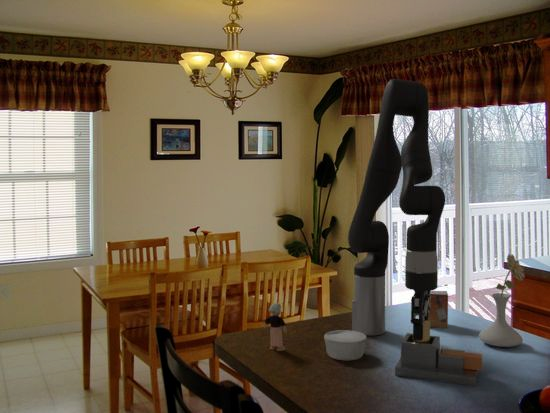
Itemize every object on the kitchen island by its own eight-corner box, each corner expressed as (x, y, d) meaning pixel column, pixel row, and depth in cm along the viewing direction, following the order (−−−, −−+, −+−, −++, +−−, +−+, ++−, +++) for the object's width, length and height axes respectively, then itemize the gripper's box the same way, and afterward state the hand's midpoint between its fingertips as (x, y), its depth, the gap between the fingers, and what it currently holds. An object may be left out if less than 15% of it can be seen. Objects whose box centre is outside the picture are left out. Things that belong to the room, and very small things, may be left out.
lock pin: (441, 365, 134) (441, 353, 134) (442, 361, 137) (442, 349, 136) (481, 370, 130) (481, 358, 130) (482, 366, 133) (482, 354, 133)
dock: (395, 375, 134) (395, 344, 133) (404, 359, 145) (404, 330, 144) (475, 386, 127) (476, 353, 126) (478, 368, 138) (479, 338, 137)
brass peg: (411, 362, 136) (411, 322, 135) (413, 357, 140) (414, 318, 139) (428, 365, 135) (429, 324, 134) (430, 359, 138) (431, 319, 138)
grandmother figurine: (291, 348, 154) (291, 302, 154) (285, 352, 151) (285, 305, 150) (266, 344, 158) (265, 300, 157) (260, 348, 154) (259, 303, 153)
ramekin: (341, 345, 157) (341, 327, 156) (375, 355, 149) (375, 335, 148) (315, 355, 149) (315, 335, 148) (348, 365, 141) (349, 344, 141)
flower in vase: (502, 353, 149) (504, 259, 147) (469, 341, 159) (470, 253, 157) (536, 345, 155) (538, 255, 153) (502, 335, 165) (503, 250, 163)
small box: (420, 327, 174) (421, 293, 173) (420, 322, 179) (420, 289, 179) (448, 328, 172) (448, 294, 172) (446, 323, 178) (446, 290, 177)
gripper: (410, 263, 144) (410, 325, 145) (400, 272, 131) (399, 341, 132) (441, 264, 141) (440, 328, 142) (433, 274, 128) (432, 345, 129)
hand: (420, 334), depth 137 cm, fingers open, 8 cm apart
